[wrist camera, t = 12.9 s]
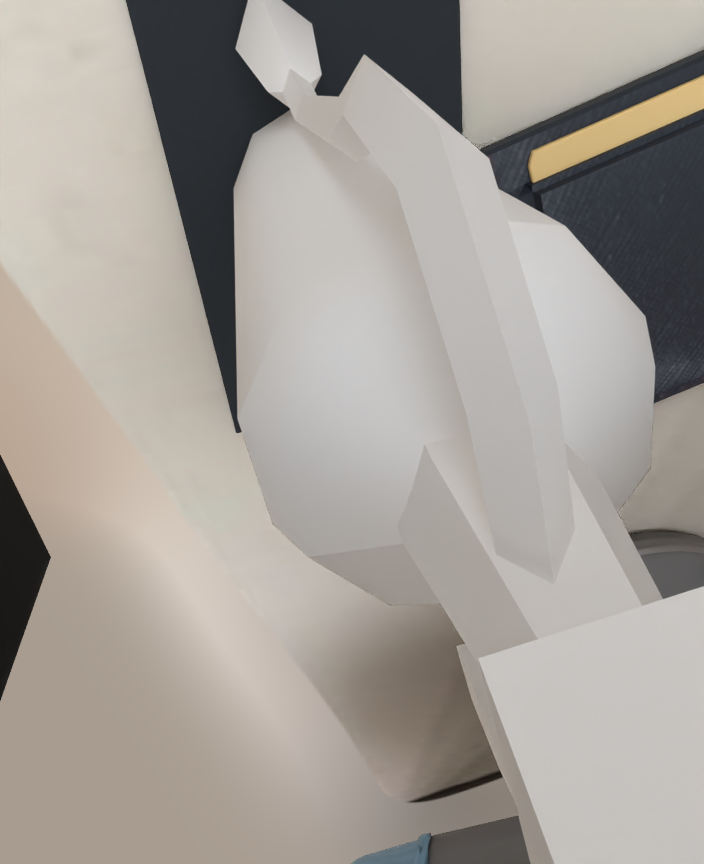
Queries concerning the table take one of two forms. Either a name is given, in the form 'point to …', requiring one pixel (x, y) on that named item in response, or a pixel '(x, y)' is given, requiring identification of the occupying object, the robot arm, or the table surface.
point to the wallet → (630, 201)
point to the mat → (267, 108)
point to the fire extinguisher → (467, 442)
